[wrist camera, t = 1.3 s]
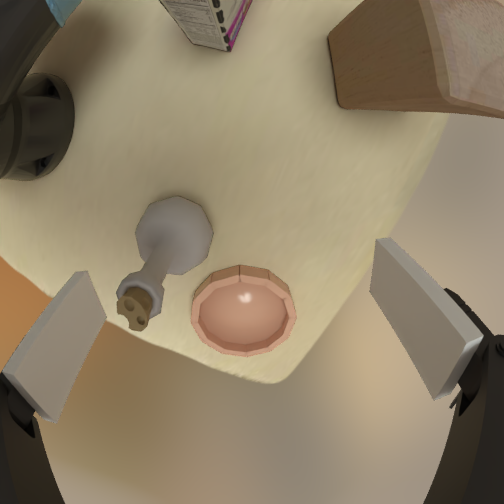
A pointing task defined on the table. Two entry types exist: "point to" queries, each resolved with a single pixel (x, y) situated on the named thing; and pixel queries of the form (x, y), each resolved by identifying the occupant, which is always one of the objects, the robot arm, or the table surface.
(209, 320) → the saucer
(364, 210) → the table surface
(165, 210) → the potion bottle
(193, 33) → the candy bar box
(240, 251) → the table surface
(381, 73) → the wooden block
